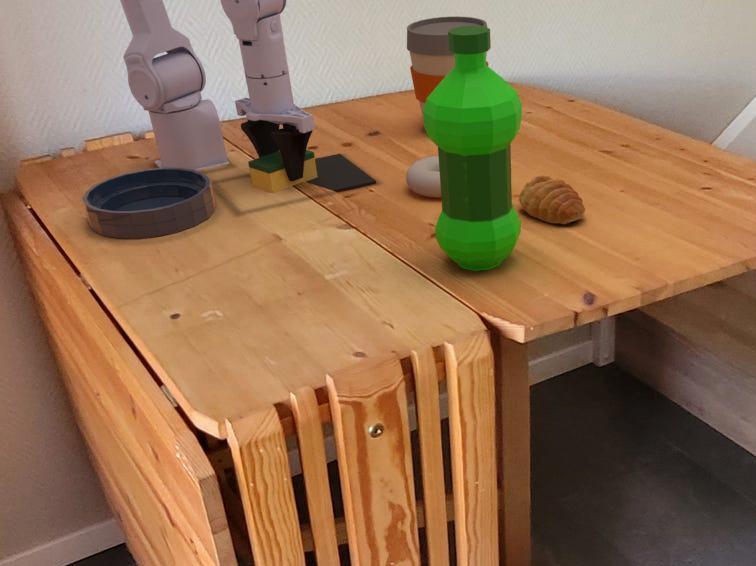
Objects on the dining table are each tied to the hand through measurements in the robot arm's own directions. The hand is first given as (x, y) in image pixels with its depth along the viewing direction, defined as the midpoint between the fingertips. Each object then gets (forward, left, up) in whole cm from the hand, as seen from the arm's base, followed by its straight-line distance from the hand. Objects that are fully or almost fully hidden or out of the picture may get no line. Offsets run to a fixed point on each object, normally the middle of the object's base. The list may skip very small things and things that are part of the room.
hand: (284, 175), depth 136 cm
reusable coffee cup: (-31, -9, -2) cm, 32 cm away
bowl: (+19, +2, -1) cm, 19 cm away
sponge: (0, 0, -1) cm, 1 cm away
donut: (-18, +14, -2) cm, 23 cm away
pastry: (-26, +30, -2) cm, 40 cm away
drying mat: (-1, 0, -1) cm, 2 cm away
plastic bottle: (-11, +38, -2) cm, 40 cm away
